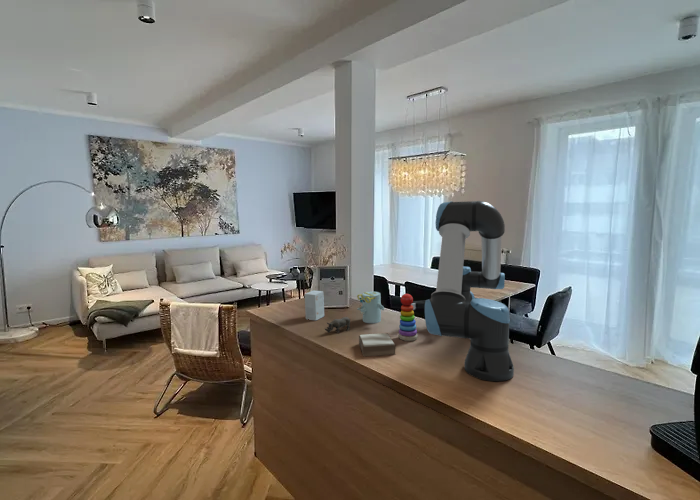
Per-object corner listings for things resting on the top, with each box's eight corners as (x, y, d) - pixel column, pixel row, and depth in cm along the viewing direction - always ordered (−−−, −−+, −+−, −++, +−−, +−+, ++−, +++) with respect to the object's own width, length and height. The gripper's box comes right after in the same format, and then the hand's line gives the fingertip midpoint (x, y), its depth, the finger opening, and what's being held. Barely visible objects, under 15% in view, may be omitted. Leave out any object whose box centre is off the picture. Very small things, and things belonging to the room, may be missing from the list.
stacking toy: (416, 334, 152) (416, 291, 150) (418, 341, 144) (418, 296, 142) (398, 334, 153) (397, 291, 150) (398, 341, 145) (398, 296, 142)
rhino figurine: (322, 333, 156) (321, 320, 155) (348, 327, 164) (347, 314, 163) (326, 336, 153) (326, 323, 152) (353, 329, 160) (352, 316, 160)
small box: (314, 314, 184) (313, 290, 182) (324, 316, 181) (323, 291, 179) (305, 319, 177) (304, 293, 175) (316, 320, 174) (315, 294, 172)
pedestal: (395, 354, 132) (395, 343, 132) (363, 356, 131) (363, 346, 131) (388, 342, 144) (388, 332, 144) (359, 344, 143) (358, 334, 143)
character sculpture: (348, 318, 177) (347, 291, 175) (366, 313, 183) (366, 288, 181) (372, 329, 160) (372, 299, 159) (392, 323, 167) (392, 295, 165)
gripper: (471, 317, 153) (439, 328, 141) (427, 305, 173) (395, 314, 161) (472, 300, 152) (439, 310, 140) (427, 290, 172) (395, 298, 160)
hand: (415, 312), depth 150 cm, fingers open, 13 cm apart
